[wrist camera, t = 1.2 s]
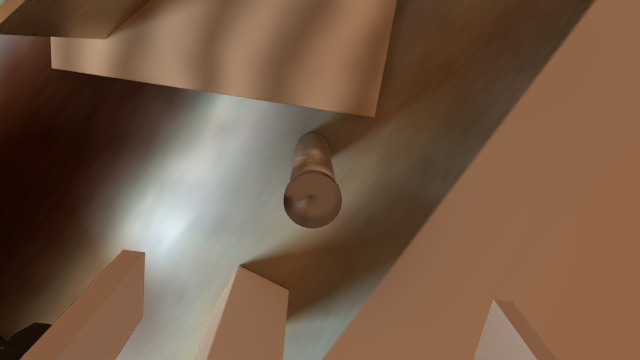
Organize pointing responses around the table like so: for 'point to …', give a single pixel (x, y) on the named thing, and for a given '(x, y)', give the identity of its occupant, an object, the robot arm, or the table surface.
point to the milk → (246, 321)
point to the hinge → (66, 17)
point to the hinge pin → (312, 184)
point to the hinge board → (248, 50)
